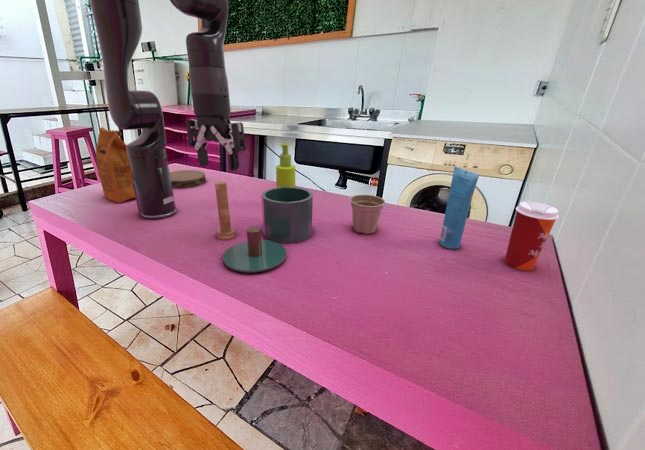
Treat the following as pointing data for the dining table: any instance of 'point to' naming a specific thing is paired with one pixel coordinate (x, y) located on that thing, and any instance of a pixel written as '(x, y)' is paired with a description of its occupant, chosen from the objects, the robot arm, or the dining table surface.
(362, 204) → the flower pot
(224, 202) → the wooden pestle
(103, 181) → the coffee package
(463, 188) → the tube
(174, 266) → the dining table surface
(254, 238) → the lid
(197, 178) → the brown round disc
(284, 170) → the soap dispenser
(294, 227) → the canister
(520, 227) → the paper cup
